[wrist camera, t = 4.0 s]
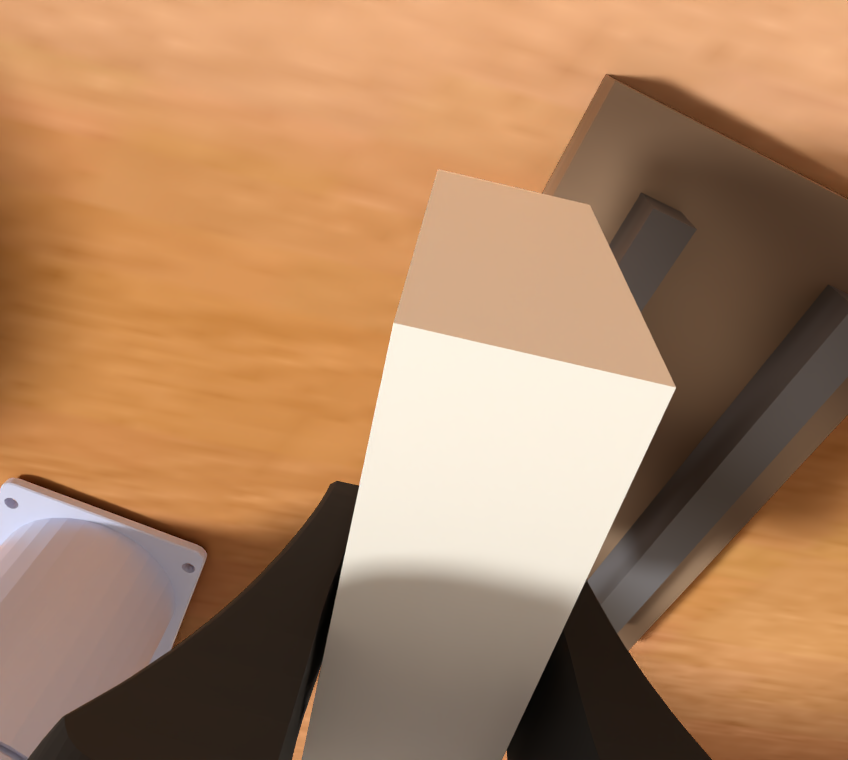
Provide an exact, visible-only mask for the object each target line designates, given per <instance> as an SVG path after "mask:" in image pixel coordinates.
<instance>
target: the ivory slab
mask: <svg viewBox="0 0 848 760" xmlns="http://www.w3.org/2000/svg"><path fill="white" fill-rule="evenodd" d="M675 389H676V386H675V384H674V382H673V380H672V378H671V376H670V374H669V372H668V369H667V367H666V365H665V363H664V361H663V359H662V357H661V355H660V352H659V350H658V348H657V346H656V344H655V342H654V340H653V338H652V336H651V333H650V331H649V329H648V327H647V325H646V323H645V321H644V319H643V316H642V314H641V312H640V310H639V308H638V306H637V304H636V302H635V300H634V297H633V295H632V293H631V291H630V289H629V287H628V285H627V283H626V280H625V278H624V276H623V274H622V272H621V270H620V268H619V266H618V264H617V261H616V259H615V257H614V255H613V253H612V251H611V249H610V247H609V244H608V242H607V240H606V238H605V236H604V234H603V232H602V230H601V228H600V225H599V223H598V221H597V219H596V217H595V215H594V213H593V211H592V209H591V206H590V205H588V204H584V203H580V202H575V201H571V200H567V199H563V198H559V197H554V196H550V195H546V194H542V193H538V192H533V191H529V190H525V189H521V188H517V187H512V186H508V185H504V184H500V183H495V182H491V181H487V180H483V179H479V178H474V177H470V176H466V175H462V174H458V173H453V172H449V171H445V170H441V169H438V170H437V173H436V177H435V180H434V184H433V187H432V191H431V194H430V198H429V201H428V205H427V208H426V212H425V215H424V219H423V222H422V226H421V229H420V233H419V236H418V240H417V243H416V246H415V250H414V253H413V257H412V260H411V264H410V267H409V271H408V274H407V278H406V281H405V285H404V288H403V292H402V295H401V299H400V302H399V306H398V309H397V313H396V316H395V320H394V323H393V328H392V333H391V337H390V342H389V347H388V352H387V356H386V361H385V366H384V371H383V375H382V380H381V385H380V390H379V394H378V399H377V404H376V409H375V413H374V418H373V423H372V428H371V432H370V437H369V442H368V447H367V451H366V456H365V461H364V466H363V471H362V475H361V480H360V485H359V490H358V494H357V499H356V504H355V509H354V513H353V518H352V523H351V528H350V532H349V537H348V542H347V547H346V551H345V556H344V561H343V566H342V570H341V575H340V580H339V585H338V589H337V594H336V599H335V604H334V608H333V613H332V618H331V623H330V627H329V632H328V637H327V642H326V647H325V651H324V656H323V661H322V666H321V670H320V675H319V680H318V685H317V689H316V694H315V699H314V704H313V708H312V713H311V718H310V723H309V727H308V732H307V737H306V742H305V746H304V751H303V756H302V760H502V759H503V756H504V754H505V752H506V750H507V748H508V746H509V744H510V741H511V739H512V737H513V735H514V733H515V731H516V729H517V727H518V724H519V722H520V720H521V718H522V716H523V714H524V712H525V709H526V707H527V705H528V703H529V701H530V699H531V697H532V694H533V692H534V690H535V688H536V686H537V684H538V682H539V680H540V677H541V675H542V673H543V671H544V669H545V667H546V665H547V662H548V660H549V658H550V656H551V654H552V652H553V650H554V647H555V645H556V643H557V641H558V639H559V637H560V635H561V633H562V630H563V628H564V626H565V624H566V622H567V620H568V618H569V615H570V613H571V611H572V609H573V607H574V605H575V603H576V600H577V598H578V596H579V594H580V592H581V590H582V588H583V586H584V583H585V581H586V579H587V577H588V575H589V573H590V571H591V568H592V566H593V564H594V562H595V560H596V558H597V556H598V553H599V551H600V549H601V547H602V545H603V543H604V541H605V538H606V536H607V534H608V532H609V530H610V528H611V526H612V524H613V521H614V519H615V517H616V515H617V513H618V511H619V509H620V506H621V504H622V502H623V500H624V498H625V496H626V494H627V491H628V489H629V487H630V485H631V483H632V481H633V479H634V477H635V474H636V472H637V470H638V468H639V466H640V464H641V462H642V459H643V457H644V455H645V453H646V451H647V449H648V447H649V444H650V442H651V440H652V438H653V436H654V434H655V432H656V430H657V427H658V425H659V423H660V421H661V419H662V417H663V415H664V412H665V410H666V408H667V406H668V404H669V402H670V400H671V397H672V395H673V393H674V391H675Z"/></svg>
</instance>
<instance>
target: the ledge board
mask: <svg viewBox="0 0 848 760" xmlns="http://www.w3.org/2000/svg"><path fill="white" fill-rule="evenodd" d="M542 194H546V195H550V196H554V197H559V198H563V199H567V200H571V201H575V202H580V203H584V204H588V205H590V206H591V209H592V211H593V213H594V215H595V217H596V219H597V221H598V223H599V225H600V228H601V230H602V232H603V234H604V236H605V238H606V240H607V242H608V244H609V247H610V249H611V251H612V253H613V255H614V257H615V259H616V261H617V264H618V266H619V268H620V270H621V272H622V274H623V276H624V278H625V280H626V283H627V285H628V287H629V289H630V291H631V293H632V295H633V297H634V300H635V302H636V304H637V306H638V308H639V310H640V312H641V314H642V316H643V319H644V321H645V323H646V325H647V327H648V329H649V331H650V333H651V336H652V338H653V340H654V342H655V344H656V346H657V348H658V350H659V352H660V355H661V357H662V359H663V361H664V363H665V365H666V367H667V369H668V372H669V374H670V376H671V378H672V380H673V382H674V384H675V386H676V389H675V391H674V393H673V395H672V397H671V400H670V402H669V404H668V406H667V408H666V410H665V412H664V415H663V417H662V419H661V421H660V423H659V425H658V427H657V430H656V432H655V434H654V436H653V438H652V440H651V442H650V444H649V447H648V449H647V451H646V453H645V455H644V457H643V459H642V462H641V464H640V466H639V468H638V470H637V472H636V474H635V477H634V479H633V481H632V483H631V485H630V487H629V489H628V491H627V494H626V496H625V498H624V500H623V502H622V504H621V506H620V509H619V511H618V513H617V515H616V517H615V519H614V521H613V524H612V526H611V528H610V530H609V532H608V534H607V536H606V538H605V541H604V543H603V545H602V547H601V549H600V551H599V553H598V556H597V558H596V560H595V562H594V564H593V566H592V568H591V571H590V573H589V575H588V577H587V581H588V583H589V585H590V587H591V589H592V590H593V592H594V594H595V596H596V598H597V600H598V601H599V603H600V605H601V607H602V608H603V610H604V612H605V614H606V615H607V617H608V619H609V620H610V622H611V624H612V626H613V627H614V629H615V631H616V632H617V634H618V636H619V637H620V639H621V641H622V642H623V644H624V645H625V647H626V648H627V650H628V651H629V650H630V649H631V648H632V646H633V645H634V644H635V643H636V642H637V641H638V640H639V639H640V638H641V637H642V636H643V635H644V634H645V632H646V631H647V630H648V629H649V628H650V627H651V626H652V625H653V624H654V623H655V622H656V621H657V619H658V618H659V617H660V616H661V615H662V614H663V613H664V612H665V611H666V610H667V609H668V608H669V607H670V605H671V604H672V603H673V602H674V601H675V600H676V599H677V598H678V597H679V596H680V595H681V594H682V593H683V591H684V590H685V589H686V588H687V587H688V586H689V585H690V584H691V583H692V582H693V581H694V580H695V579H696V577H697V576H698V575H699V574H700V573H701V572H702V571H703V570H704V569H705V568H706V567H707V566H708V565H709V563H710V562H711V561H712V560H713V559H714V558H715V557H716V556H717V555H718V554H719V553H720V552H721V551H722V549H723V548H724V547H725V546H726V545H727V544H728V543H729V542H730V541H731V540H732V539H733V538H734V537H735V535H736V534H737V533H738V532H739V531H740V530H741V529H742V528H743V527H744V526H745V525H746V524H747V523H748V521H749V520H750V519H751V518H752V517H753V516H754V515H755V514H756V513H757V512H758V511H759V510H760V509H761V507H762V506H763V505H764V504H765V503H766V502H767V501H768V500H769V499H770V498H771V497H772V496H773V495H774V493H775V492H776V491H777V490H778V489H779V488H780V487H781V486H782V485H783V484H784V483H785V482H786V481H787V479H788V478H789V477H790V476H791V475H792V474H793V473H794V472H795V471H796V470H797V469H798V468H799V467H800V465H801V464H802V463H803V462H804V461H805V460H806V459H807V458H808V457H809V456H810V455H811V454H812V452H813V451H814V450H815V449H816V448H817V447H818V446H819V445H820V444H821V443H822V442H823V441H824V440H825V438H826V437H827V436H828V435H829V434H830V433H831V432H832V431H833V430H834V429H835V428H836V427H837V426H838V424H839V423H840V422H841V421H842V420H843V419H844V418H845V417H846V416H847V415H848V199H847V198H845V197H843V196H841V195H839V194H837V193H835V192H834V191H832V190H830V189H828V188H826V187H824V186H822V185H820V184H818V183H816V182H814V181H812V180H810V179H808V178H806V177H804V176H803V175H801V174H799V173H797V172H795V171H793V170H791V169H789V168H787V167H785V166H783V165H781V164H779V163H777V162H775V161H773V160H771V159H770V158H768V157H766V156H764V155H762V154H760V153H758V152H756V151H754V150H752V149H750V148H748V147H746V146H744V145H742V144H740V143H738V142H737V141H735V140H733V139H731V138H729V137H727V136H725V135H723V134H721V133H719V132H717V131H715V130H713V129H711V128H709V127H707V126H706V125H704V124H702V123H700V122H698V121H696V120H694V119H692V118H690V117H688V116H686V115H684V114H682V113H680V112H678V111H676V110H674V109H673V108H671V107H669V106H667V105H665V104H663V103H661V102H659V101H657V100H655V99H653V98H651V97H649V96H647V95H645V94H643V93H641V92H640V91H638V90H636V89H634V88H632V87H630V86H628V85H626V84H624V83H622V82H620V81H618V80H616V79H614V78H612V77H610V76H608V75H607V74H606V75H605V77H604V79H603V80H602V82H601V84H600V86H599V88H598V90H597V92H596V93H595V95H594V97H593V99H592V101H591V103H590V105H589V107H588V108H587V110H586V112H585V114H584V116H583V118H582V120H581V121H580V123H579V125H578V127H577V129H576V131H575V133H574V135H573V136H572V138H571V140H570V142H569V144H568V146H567V148H566V149H565V151H564V153H563V155H562V157H561V159H560V161H559V163H558V164H557V166H556V168H555V170H554V172H553V174H552V176H551V177H550V179H549V181H548V183H547V185H546V187H545V189H544V190H543V192H542Z"/></svg>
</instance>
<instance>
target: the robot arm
mask: <svg viewBox="0 0 848 760" xmlns="http://www.w3.org/2000/svg"><path fill="white" fill-rule="evenodd" d="M358 490H359V486H358V485H353V484H349V483H344V482H340V481H336V482H334V483H332V484H330V486H329V488H328V490H327V492H326V494H325V495H324V497H323V499H322V500H321V502H320V503H319V505H318V506H317V508H316V509H315V511H314V512H313V513H312V515H311V516H310V517H309V519H308V520H307V521H306V523H305V524H304V525H303V527H302V528H301V529H300V530H299V531H298V533H297V534H296V535H295V536H294V537H293V539H292V540H291V541H290V542H289V543H288V545H287V546H286V547H285V548H284V549H283V551H282V552H281V553H280V554H279V555H278V556H277V557H276V558H275V559H274V560H273V561H272V562H271V563H270V564H269V565H268V566H267V568H266V569H265V570H264V571H263V572H262V573H261V574H260V575H259V576H258V577H257V578H256V579H255V580H254V581H253V582H252V583H251V584H250V585H249V586H248V587H247V588H246V589H245V590H244V591H243V592H241V593H240V594H239V595H238V596H237V597H236V598H235V599H234V600H233V601H232V602H230V603H229V604H228V605H227V606H226V607H225V608H224V609H222V610H221V611H220V612H219V613H218V614H217V615H215V616H214V617H213V618H212V619H210V620H209V621H208V622H207V623H205V624H204V625H203V626H202V627H200V628H199V629H198V630H197V631H195V632H194V633H193V634H192V635H190V636H189V637H188V638H186V639H185V640H184V641H182V642H181V643H180V644H178V645H177V646H176V647H174V648H173V649H172V647H173V644H174V641H175V639H176V636H177V634H178V631H179V628H180V626H181V623H182V621H183V618H184V616H185V613H186V610H187V608H188V605H189V603H190V600H191V597H192V595H193V592H194V590H195V587H196V584H197V582H198V579H199V577H200V574H201V572H202V569H203V566H204V564H205V561H206V559H207V553H206V551H205V550H204V549H203V548H202V547H201V546H199V545H197V544H194V543H191V542H189V541H186V540H183V539H180V538H178V537H175V536H172V535H170V534H167V533H164V532H162V531H159V530H156V529H154V528H151V527H148V526H146V525H143V524H140V523H137V522H135V521H132V520H129V519H127V518H124V517H121V516H119V515H116V514H113V513H111V512H108V511H105V510H102V509H100V508H97V507H94V506H92V505H89V504H86V503H84V502H81V501H78V500H76V499H73V498H70V497H68V496H65V495H62V494H59V493H57V492H54V491H51V490H49V489H46V488H43V487H41V486H38V485H35V484H33V483H30V482H27V481H25V480H22V479H18V478H10V479H8V480H7V481H6V482H5V483H4V484H3V485H2V486H1V488H0V760H292V757H293V753H294V749H295V745H296V741H297V737H298V734H299V730H300V727H301V724H302V720H303V717H304V714H305V711H306V708H307V705H308V702H309V699H310V696H311V693H312V690H313V687H314V685H315V682H316V679H317V676H318V673H319V670H320V667H321V664H322V661H323V656H324V651H325V647H326V642H327V637H328V632H329V627H330V623H331V618H332V613H333V608H334V604H335V599H336V594H337V589H338V585H339V580H340V575H341V570H342V566H343V561H344V556H345V551H346V547H347V542H348V537H349V532H350V528H351V523H352V518H353V513H354V509H355V504H356V499H357V494H358ZM13 499H14V500H13ZM15 500H16V501H15ZM187 563H189V564H191V565H189V564H187ZM192 565H193V566H192ZM507 760H712V759H711V758H710V757H709V756H708V754H707V753H706V752H705V751H704V750H703V749H702V748H701V746H700V745H699V744H698V743H697V742H696V741H695V739H694V738H693V737H692V736H691V735H690V734H689V733H688V731H687V730H686V729H685V728H684V727H683V725H682V724H681V723H680V722H679V720H678V719H677V718H676V717H675V716H674V714H673V713H672V712H671V710H670V709H669V708H668V706H667V705H666V704H665V703H664V701H663V700H662V699H661V697H660V696H659V695H658V693H657V692H656V691H655V689H654V688H653V687H652V685H651V684H650V683H649V681H648V680H647V678H646V677H645V676H644V674H643V673H642V671H641V670H640V668H639V667H638V665H637V664H636V662H635V661H634V659H633V658H632V656H631V655H630V653H629V652H628V650H627V648H626V647H625V645H624V644H623V642H622V641H621V639H620V637H619V636H618V634H617V632H616V631H615V629H614V627H613V626H612V624H611V622H610V620H609V619H608V617H607V615H606V614H605V612H604V610H603V608H602V607H601V605H600V603H599V601H598V600H597V598H596V596H595V594H594V592H593V590H592V589H591V587H590V585H589V583H588V581H587V579H586V581H585V583H584V586H583V588H582V590H581V592H580V594H579V596H578V598H577V600H576V603H575V605H574V607H573V609H572V611H571V613H570V615H569V618H568V620H567V622H566V624H565V626H564V628H563V630H562V633H561V635H560V637H559V639H558V641H557V643H556V645H555V647H554V650H553V652H552V654H551V656H550V658H549V660H548V662H547V665H546V667H545V669H544V671H543V673H542V675H541V677H540V680H539V682H538V684H537V686H536V688H535V690H534V692H533V694H532V697H531V699H530V701H529V703H528V705H527V707H526V709H525V712H524V714H523V716H522V718H521V720H520V722H519V724H518V727H517V729H516V731H515V733H514V735H513V737H512V739H511V741H510V744H509V746H508V748H507Z"/></svg>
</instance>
